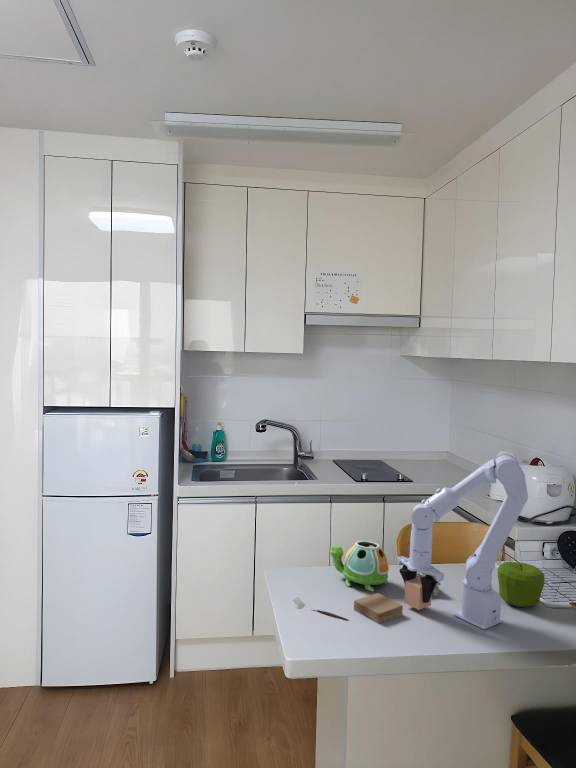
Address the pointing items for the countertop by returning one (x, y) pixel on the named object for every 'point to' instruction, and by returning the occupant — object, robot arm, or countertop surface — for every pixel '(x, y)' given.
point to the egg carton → (435, 586)
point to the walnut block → (378, 608)
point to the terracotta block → (415, 594)
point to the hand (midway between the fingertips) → (417, 598)
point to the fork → (319, 610)
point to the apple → (520, 583)
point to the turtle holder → (362, 564)
